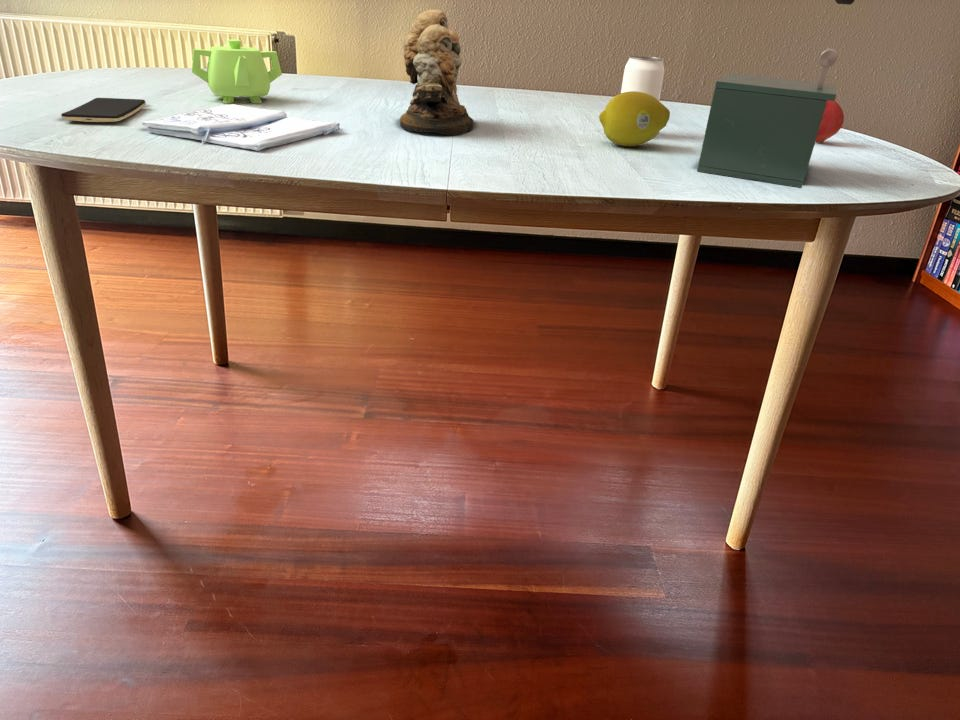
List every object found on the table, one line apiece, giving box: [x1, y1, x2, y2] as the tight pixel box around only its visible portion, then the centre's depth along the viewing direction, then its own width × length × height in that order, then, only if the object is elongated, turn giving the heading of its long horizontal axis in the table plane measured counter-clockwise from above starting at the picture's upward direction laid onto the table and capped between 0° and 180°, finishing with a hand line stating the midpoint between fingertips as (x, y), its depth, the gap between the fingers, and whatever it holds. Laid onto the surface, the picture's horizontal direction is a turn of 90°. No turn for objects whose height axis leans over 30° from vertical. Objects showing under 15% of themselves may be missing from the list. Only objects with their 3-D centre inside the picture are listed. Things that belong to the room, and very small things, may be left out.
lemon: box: [598, 91, 671, 147], centre depth 105 cm, size 11×8×8 cm
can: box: [620, 55, 665, 102], centre depth 114 cm, size 6×6×12 cm
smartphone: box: [60, 97, 147, 123], centre depth 102 cm, size 7×1×15 cm
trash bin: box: [696, 87, 827, 188], centre depth 95 cm, size 14×14×11 cm
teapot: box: [191, 38, 283, 104], centre depth 119 cm, size 12×12×10 cm
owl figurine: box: [399, 8, 474, 136], centre depth 107 cm, size 18×12×17 cm, turn 178°
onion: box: [815, 96, 845, 144], centre depth 118 cm, size 6×6×8 cm
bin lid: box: [714, 47, 838, 101], centre depth 91 cm, size 14×14×5 cm
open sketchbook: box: [141, 103, 341, 152], centre depth 97 cm, size 19×20×2 cm
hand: (843, 3), depth 86 cm, fingers open, 8 cm apart
